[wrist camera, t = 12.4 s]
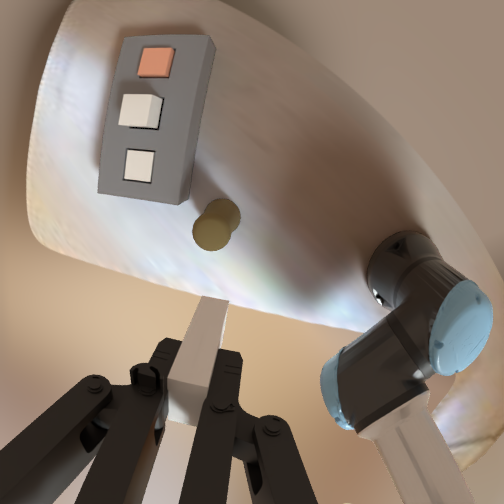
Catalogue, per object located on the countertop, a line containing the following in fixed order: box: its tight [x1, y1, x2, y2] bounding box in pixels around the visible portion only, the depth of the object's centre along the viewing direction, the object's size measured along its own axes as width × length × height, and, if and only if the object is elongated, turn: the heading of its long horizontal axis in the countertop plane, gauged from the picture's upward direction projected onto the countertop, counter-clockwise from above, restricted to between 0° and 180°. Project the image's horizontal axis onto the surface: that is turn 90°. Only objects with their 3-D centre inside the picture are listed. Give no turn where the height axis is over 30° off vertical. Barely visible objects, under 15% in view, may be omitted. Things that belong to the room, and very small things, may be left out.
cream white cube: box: [118, 94, 163, 128], centre depth 34 cm, size 4×4×4 cm
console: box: [98, 34, 216, 205], centre depth 39 cm, size 14×26×6 cm, turn 170°
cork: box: [192, 199, 241, 251], centre depth 42 cm, size 6×6×11 cm
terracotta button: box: [137, 48, 175, 78], centre depth 34 cm, size 4×4×4 cm
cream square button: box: [124, 150, 156, 182], centre depth 41 cm, size 4×4×4 cm
